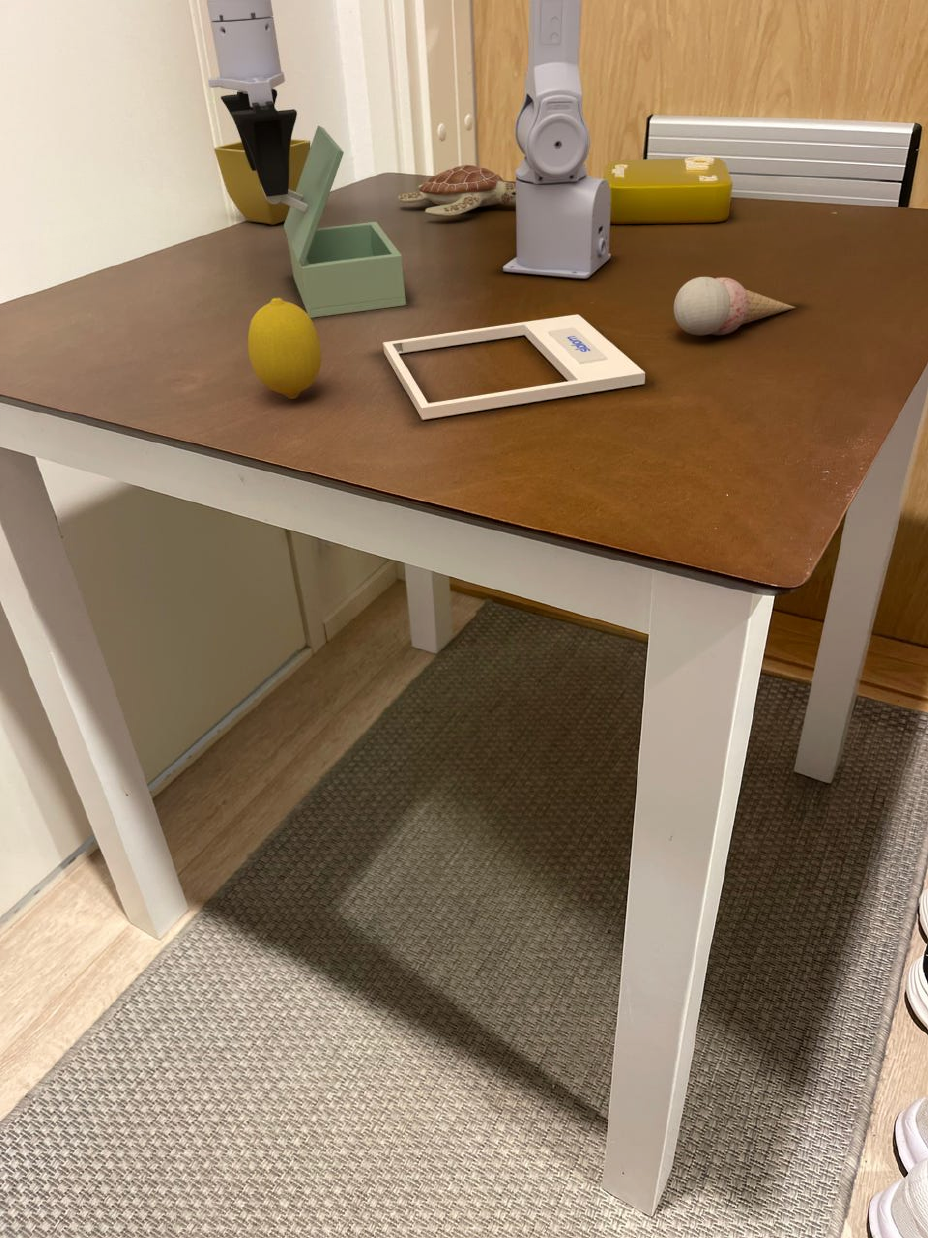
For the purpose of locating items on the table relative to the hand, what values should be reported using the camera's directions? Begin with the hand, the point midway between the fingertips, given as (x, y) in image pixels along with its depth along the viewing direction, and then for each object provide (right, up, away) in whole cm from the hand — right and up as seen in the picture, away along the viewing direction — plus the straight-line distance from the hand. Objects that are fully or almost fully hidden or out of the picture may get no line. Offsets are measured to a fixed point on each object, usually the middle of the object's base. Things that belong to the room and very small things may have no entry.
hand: (268, 180), depth 93 cm
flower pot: (-5, +8, +29) cm, 31 cm away
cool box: (+7, -10, +3) cm, 13 cm away
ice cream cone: (+44, -18, -11) cm, 49 cm away
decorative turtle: (+20, +10, +30) cm, 37 cm away
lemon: (+6, -26, -18) cm, 32 cm away
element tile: (+44, +7, +24) cm, 51 cm away
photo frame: (+23, -23, -15) cm, 36 cm away
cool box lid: (+5, -2, -3) cm, 6 cm away
